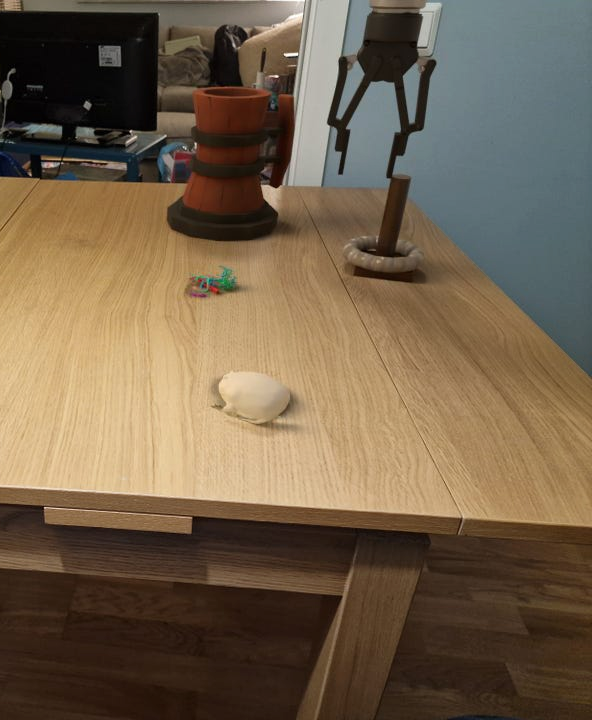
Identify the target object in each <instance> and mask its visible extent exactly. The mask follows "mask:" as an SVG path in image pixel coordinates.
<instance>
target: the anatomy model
mask: <svg viewBox="0 0 592 720" xmlns="http://www.w3.org/2000/svg"><path fill="white" fill-rule="evenodd" d="M218 268H222V269H223V271H222V272H221V274H217V273H216V276H217V277H220V278H213V277H211V276H208V275H196V274H192V273H190V274H189V276H190V277H185V279H188V280H192V283H194V282H195V280H196V282H198V283H200V285H199V287H198V286H197V285H196V286H195V285H194V286H192V289H194V290H200V293H199V294H196V293H195V292H193V291H190V292H189V294H190V295H192V297H198V298H205V297H207V294H205V293H206V292H208V291H209V290H210V291H212V292H213V293H215V294H216V295H219V294H220V290H219V289H218V288H216V287H217V286H218V284H217V283H215V282H218V283H219V288H222V290H224V291H225V290H231V289H232V288H233V289H234V290H235V289H236V285H237V283H238V282H237V279H238V277H237V276H236V275H234V274H235V273H234V272H235V271H234V269H233V268H231V267H226V266H224V265H219V266H218ZM232 275H233V276H232ZM203 286H204V287H205V288H206V290H203V291H201V290H202V289H203Z"/></svg>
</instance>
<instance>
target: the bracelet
mask: <svg viewBox="0 0 592 720" xmlns="http://www.w3.org/2000/svg"><path fill="white" fill-rule="evenodd" d="M378 238H379V235H362V236H356V237H354V238H351V239H349V240H346V241H345V242H344V243H343V244H342V254H341V255H342V257H343V258H344V259H345V260H346V261H348V262H349V263H350V264H352V265H353V266H354V265H355V266H358V267H361V268H365V269H368V270H371V271H378V272H387V273H399V272H410V271H412V270H413V271H414V270H417V269H418V268H421V267H422V266H423V265H424V264H425V262H426V257H425V253H424V250H423V248H421V247H420V246H418V245H416V244H414V243H412V242H411V241H409V240H404V239H401V238H398V242H397V246H396V251H395V253H397V254H401V255H403V256H405V257H398V258H390V257H380V256H374V255H371V254H368V253H364V252H362V251H361V250H372V251H376V248H377V243H378Z"/></svg>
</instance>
